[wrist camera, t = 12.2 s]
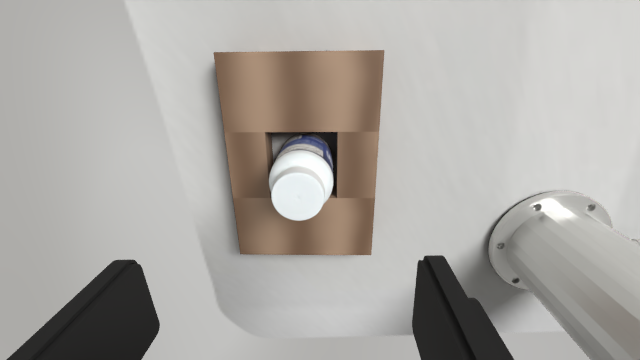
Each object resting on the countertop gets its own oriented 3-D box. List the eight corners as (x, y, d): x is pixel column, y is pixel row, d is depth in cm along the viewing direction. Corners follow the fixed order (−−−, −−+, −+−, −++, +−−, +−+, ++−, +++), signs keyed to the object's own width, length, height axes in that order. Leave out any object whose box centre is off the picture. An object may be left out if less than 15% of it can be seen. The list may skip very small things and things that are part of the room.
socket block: (378, 51, 27) (384, 50, 24) (367, 239, 35) (371, 255, 32) (225, 52, 28) (213, 52, 25) (247, 238, 35) (240, 254, 32)
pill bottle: (327, 185, 32) (326, 234, 23) (277, 176, 32) (258, 223, 23) (337, 136, 30) (341, 170, 21) (284, 127, 30) (265, 157, 21)
